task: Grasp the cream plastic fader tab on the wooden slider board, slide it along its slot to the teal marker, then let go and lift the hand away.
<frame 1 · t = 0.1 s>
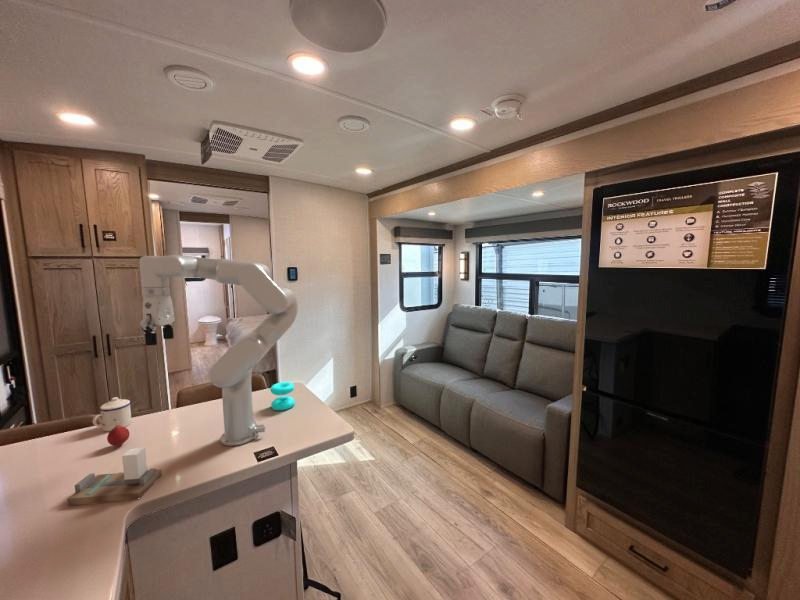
hand: (160, 341, 111), 37 cm above the worktop, tool pointing down, fingers open, 9 cm apart
teacup with lid: (113, 428, 126), on the worktop
donuts: (283, 407, 144), on the worktop
fader: (135, 466, 90), point 7 cm above the worktop, slide at -5.0 cm
wooden slider board: (117, 489, 90), on the worktop
onion: (119, 446, 113), on the worktop
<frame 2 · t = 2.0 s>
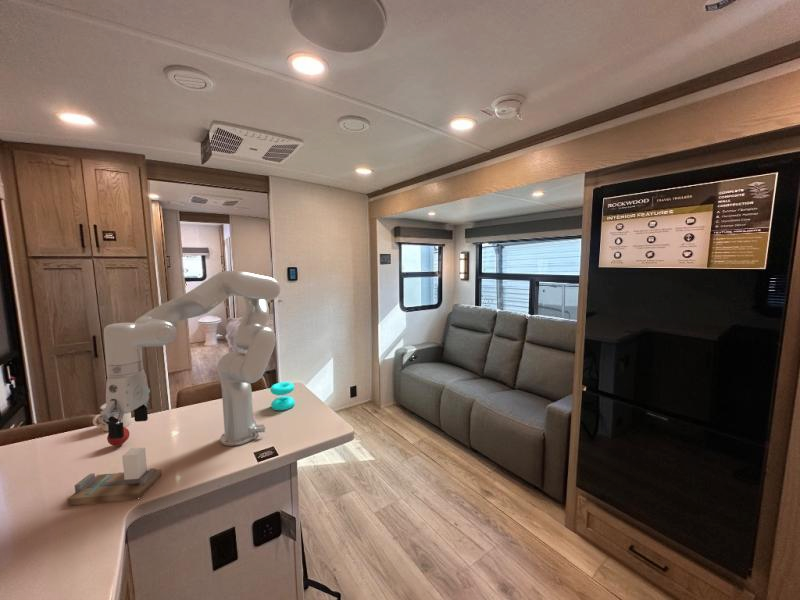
hand: (129, 428, 89), 18 cm above the worktop, tool pointing down, fingers open, 9 cm apart
nothing on the worktop moved.
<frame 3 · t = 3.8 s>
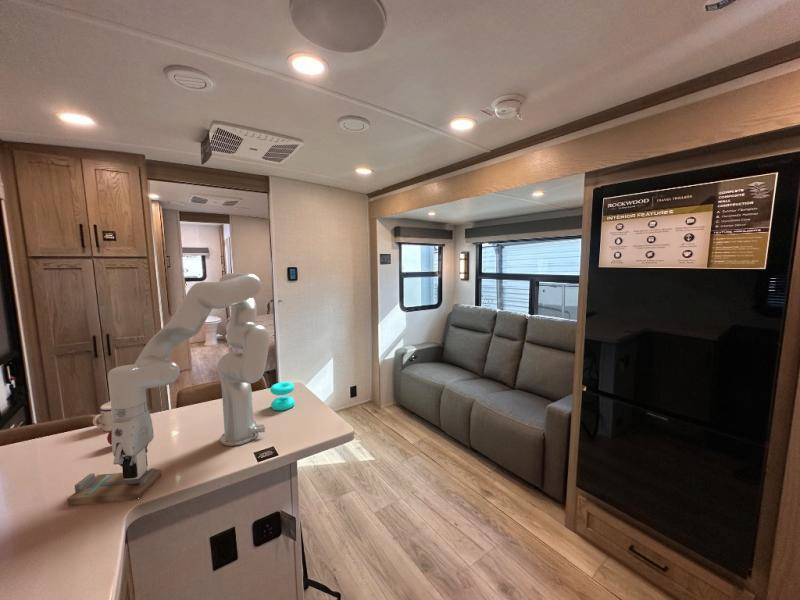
hand: (135, 472, 91), 5 cm above the worktop, tool pointing down, fingers closed on fader, 3 cm apart
fader: (135, 466, 90), point 7 cm above the worktop, slide at -5.0 cm, touching gripper
everything else where it was.
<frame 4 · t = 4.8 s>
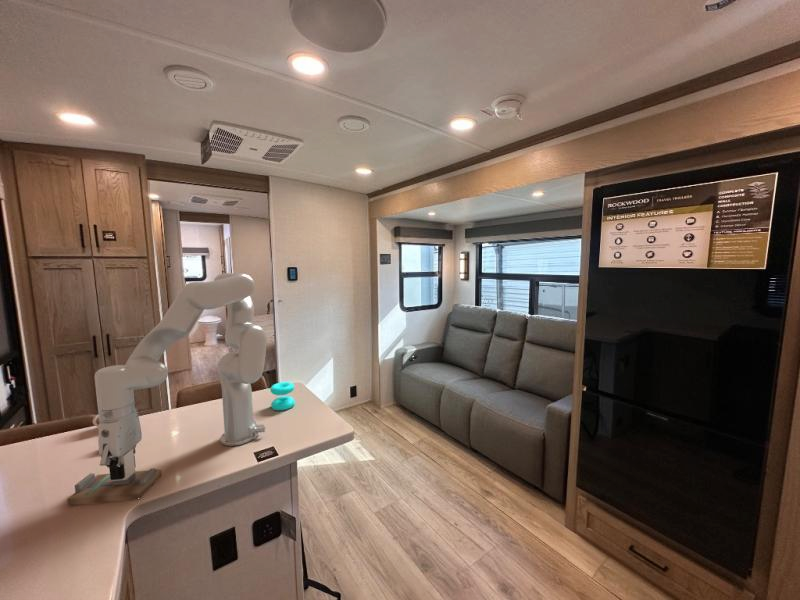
hand: (123, 473, 90), 5 cm above the worktop, tool pointing down, fingers closed on fader, 3 cm apart
fader: (122, 467, 90), point 7 cm above the worktop, slide at -1.9 cm, touching gripper
everything else where it was.
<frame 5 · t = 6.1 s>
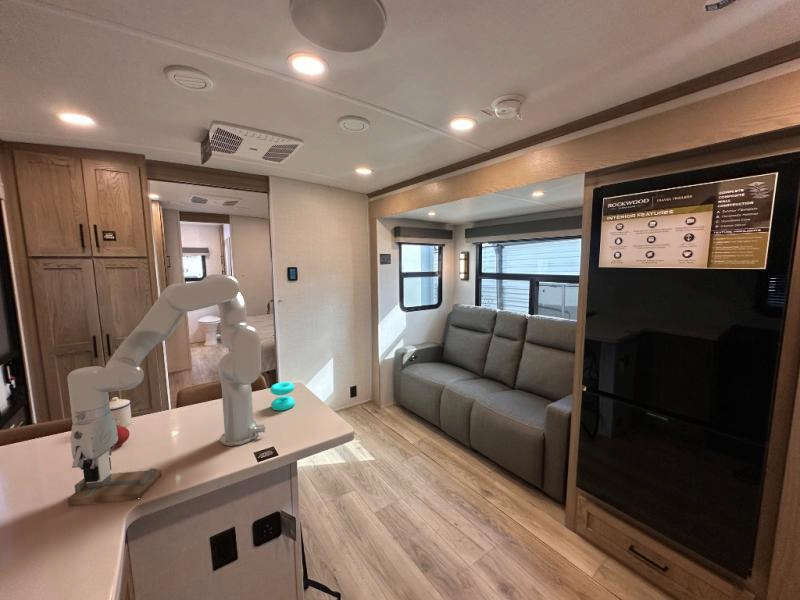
hand: (98, 475, 89), 5 cm above the worktop, tool pointing down, fingers closed on fader, 3 cm apart
fader: (97, 469, 89), point 7 cm above the worktop, slide at 4.5 cm, touching gripper
everything else where it was.
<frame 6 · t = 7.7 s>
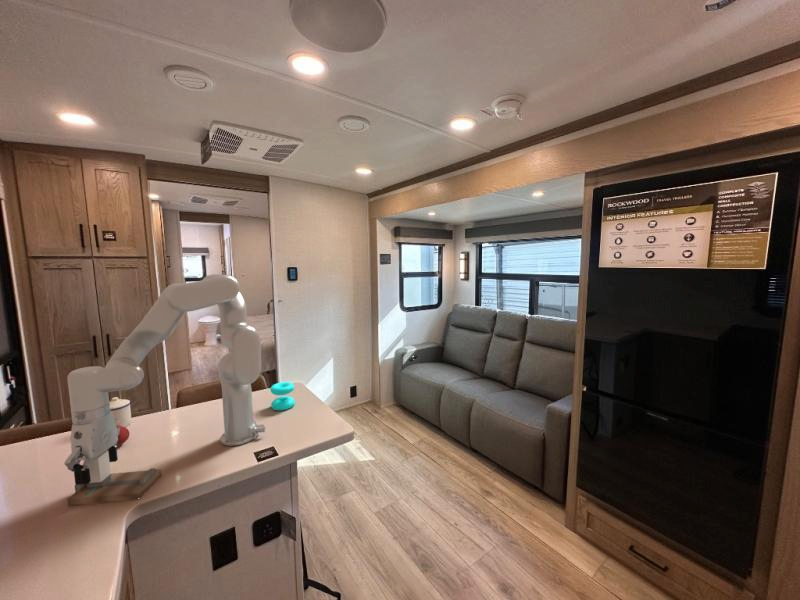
hand: (97, 471, 89), 6 cm above the worktop, tool pointing down, fingers open, 9 cm apart
fader: (97, 469, 89), point 7 cm above the worktop, slide at 4.5 cm
everything else where it was.
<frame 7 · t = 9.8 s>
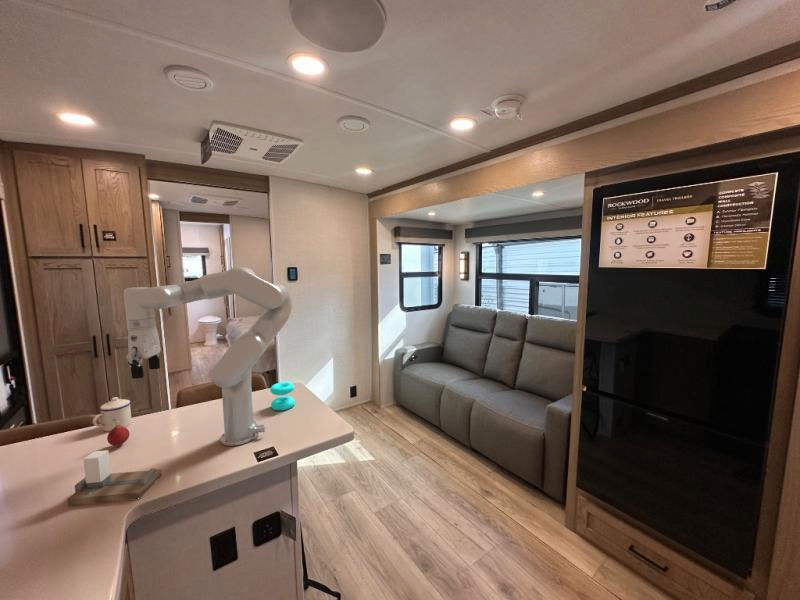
hand: (146, 373, 110), 26 cm above the worktop, tool pointing down, fingers open, 9 cm apart
nothing on the worktop moved.
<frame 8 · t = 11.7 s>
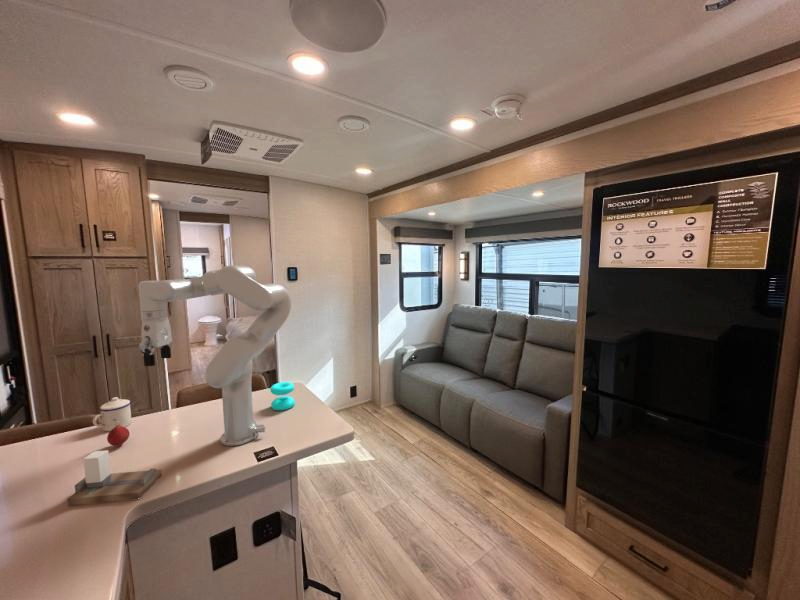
hand: (158, 361, 117), 28 cm above the worktop, tool pointing down, fingers open, 9 cm apart
nothing on the worktop moved.
at the end: fader slide at 4.5 cm; the gripper is holding nothing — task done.
